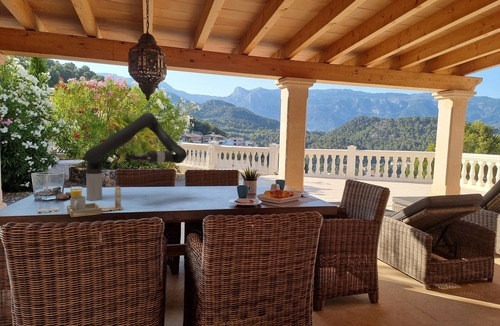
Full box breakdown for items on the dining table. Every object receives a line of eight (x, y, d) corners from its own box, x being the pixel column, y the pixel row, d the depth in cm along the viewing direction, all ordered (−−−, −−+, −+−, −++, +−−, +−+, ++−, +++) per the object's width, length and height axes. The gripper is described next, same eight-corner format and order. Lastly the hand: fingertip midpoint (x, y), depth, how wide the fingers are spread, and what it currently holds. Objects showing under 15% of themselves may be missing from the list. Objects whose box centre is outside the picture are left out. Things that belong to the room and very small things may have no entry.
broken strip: (37, 211, 184) (37, 209, 183) (88, 206, 199) (88, 204, 199) (38, 213, 180) (38, 211, 179) (90, 207, 195) (90, 206, 195)
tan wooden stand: (66, 211, 185) (66, 188, 184) (118, 205, 201) (117, 184, 200) (71, 217, 173) (70, 193, 172) (125, 210, 190) (125, 188, 188)
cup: (86, 211, 187) (86, 196, 186) (82, 216, 177) (82, 199, 176) (72, 211, 185) (72, 196, 184) (67, 216, 176) (67, 200, 175)
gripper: (152, 150, 214) (126, 150, 204) (160, 151, 203) (133, 152, 193) (151, 161, 215) (126, 162, 205) (160, 163, 204) (133, 164, 194)
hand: (129, 157), depth 199 cm, fingers open, 8 cm apart
